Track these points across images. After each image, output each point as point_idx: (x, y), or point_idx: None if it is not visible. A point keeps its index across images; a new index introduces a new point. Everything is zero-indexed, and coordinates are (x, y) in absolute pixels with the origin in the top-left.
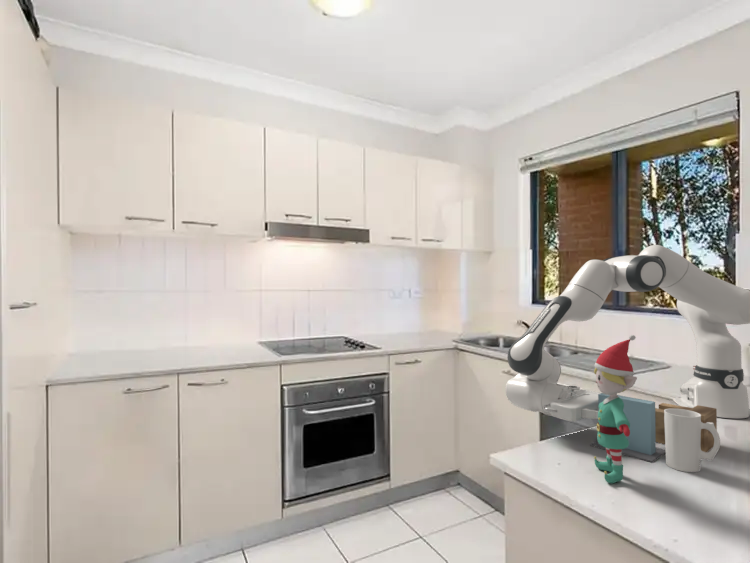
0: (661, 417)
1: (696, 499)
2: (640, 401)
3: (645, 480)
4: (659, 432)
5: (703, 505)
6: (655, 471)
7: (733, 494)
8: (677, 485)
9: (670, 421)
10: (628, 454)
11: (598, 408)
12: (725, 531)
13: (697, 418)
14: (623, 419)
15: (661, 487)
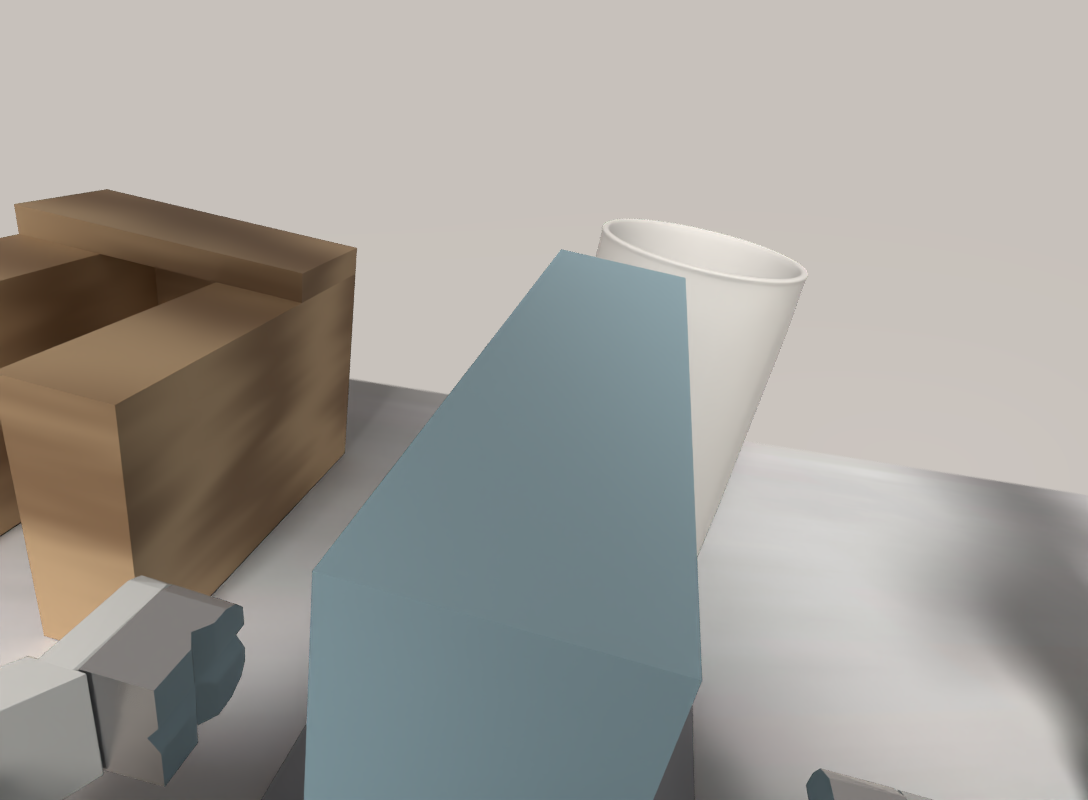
0: (206, 401)
1: (944, 538)
2: (653, 298)
3: (994, 683)
4: (199, 529)
5: (968, 528)
6: (812, 640)
7: (771, 457)
8: (885, 574)
9: (784, 328)
10: (693, 784)
11: None
12: (1071, 511)
13: (728, 245)
14: None
15: (985, 625)
